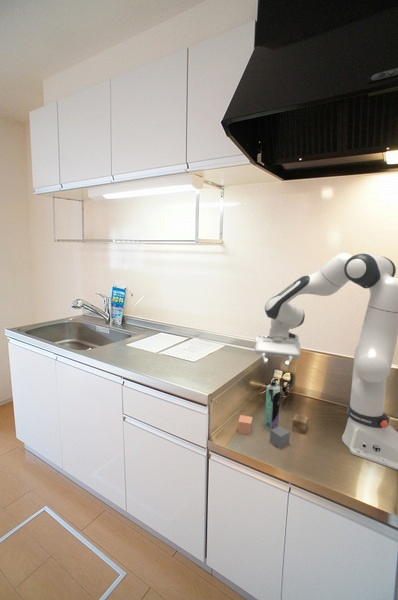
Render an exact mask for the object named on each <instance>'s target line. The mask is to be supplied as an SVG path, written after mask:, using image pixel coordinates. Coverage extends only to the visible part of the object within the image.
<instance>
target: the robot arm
mask: <svg viewBox="0 0 398 600" xmlns="http://www.w3.org/2000/svg"><path fill="white" fill-rule="evenodd" d="M396 271H397V268H396V265H395V263H394V262H393V261H392V259H390V258H388V257H386V256H380V255H378V254H373V253H359V254H358V253H357V254H354V255H352V253H348V252H341V253H338V254H336V255H335V256H333V257H332V258H331V259H329V260H328V261H327V262H326V263H325V264H324V265H323V266H321V268H320V269H319V270H317V271H315V272H314V273H311V274H308V275H304V276H300V277H299V278H298V279H296V280H295V281H294V282H292V284H290V285H289V286H287V287H286V288H284V289H283V290H281V292H279V293H278V294H276V295H275V296H273V297H271V298H269V299H268V300H267V302H266V303H265V305H264V312H265V314H266V316H267V317H268V318H269V319H270V329H269V335H258V336H256V338H255V347H254V352H255V354H256V355H261V357H262V359H263V364H266V365H267V364H268V358H267V357H266V356H271V357H278V358H279V357H280V358H286V359H287V358H288V360H286V361H285V367H290V363H291V362H292V361H293V359H297V360H299V359H301V355H302V354H301V353H302V351H301V344H300V341H299V335H297V334H295V333H292V332H291V331H290V330H292V329H296V328H298V327H300V326H302V325H303V324H304V322H305V317H306V316H305V311H304V309H303V308H301V307H300V306H297V305H295V304H292V303H290V302H291V301H292V300H293V299H295V298H296V297H298V296H300V295H315V296H319V297H320V296H321V297H326V296H331V295H333V294H336V293H337V292H338V291H339V290H341V288H343V287H344V285H347V283H348V282H352V283H354V284H356V285H358V286H359V287H362V288H363V289H368V290H369V292H370V293H369V300H368V304H367V306H366V311H365V315H364V319H363V322H362V327H361V331H360V336H359V342H358V345H357V346H356V348H355V350H354V356H353V368H352V381H351V391H350V401H349V404H348V407H347V412H346V413H347V417H346V418H347V422H346V426H345V428H344V429H345V430H344V432H343V434H342V436H341V440H342V442H343V443H344V445H345V446H346V447H348V450H349V451H350V453H351V454H352V455H353V456H354V455H355V456H357V457H360V458H363V459H364V460H368V461H371V462H374V463H377V464H380V465H383V466H385V467H388V468H391V469H394V470H396V471H398V431H397V430H395V428H393V426H391V424H390V418H391V414H389V415H387V414H386V413H385V402H386V396H387V395H386V394H387V393H386V392H387V378H388V376H389V375H390V373H391V369H392V365H393V361H394V357H395V356H394V355H395V351H396V345H397V342H398V341H397V340H398V277H395V275H396Z"/></svg>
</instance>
